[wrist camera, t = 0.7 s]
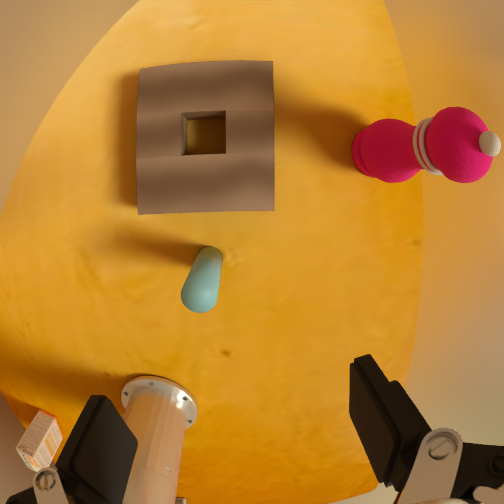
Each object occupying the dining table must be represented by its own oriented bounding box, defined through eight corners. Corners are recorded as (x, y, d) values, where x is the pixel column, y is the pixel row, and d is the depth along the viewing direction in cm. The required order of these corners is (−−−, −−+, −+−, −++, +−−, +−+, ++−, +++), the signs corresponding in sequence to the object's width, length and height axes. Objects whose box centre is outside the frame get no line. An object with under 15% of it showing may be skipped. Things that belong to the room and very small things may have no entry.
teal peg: (223, 270, 34) (218, 312, 23) (197, 271, 34) (182, 312, 23) (222, 246, 33) (216, 278, 23) (196, 246, 33) (179, 279, 22)
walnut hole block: (269, 206, 32) (274, 210, 28) (149, 210, 32) (138, 214, 28) (268, 73, 28) (272, 61, 24) (149, 79, 27) (139, 69, 24)
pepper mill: (336, 143, 31) (449, 114, 11) (377, 114, 30) (495, 78, 11) (368, 192, 32) (491, 218, 13) (406, 162, 32) (530, 166, 12)
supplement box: (39, 407, 40) (13, 447, 27) (56, 416, 40) (33, 458, 27) (47, 429, 42) (26, 467, 29) (64, 437, 42) (44, 477, 29)
